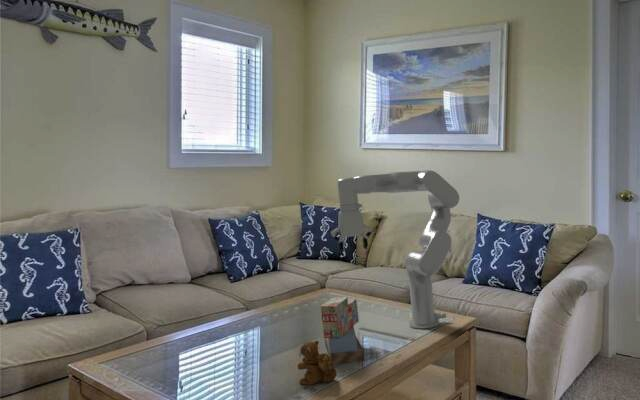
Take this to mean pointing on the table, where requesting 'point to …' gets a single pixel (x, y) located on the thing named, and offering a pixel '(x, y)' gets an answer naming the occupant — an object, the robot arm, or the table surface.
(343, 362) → the walnut tower block
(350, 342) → the slate-blue tower block
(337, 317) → the stack of blocks
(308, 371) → the stuffed squirrel
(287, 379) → the table surface
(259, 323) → the table surface
